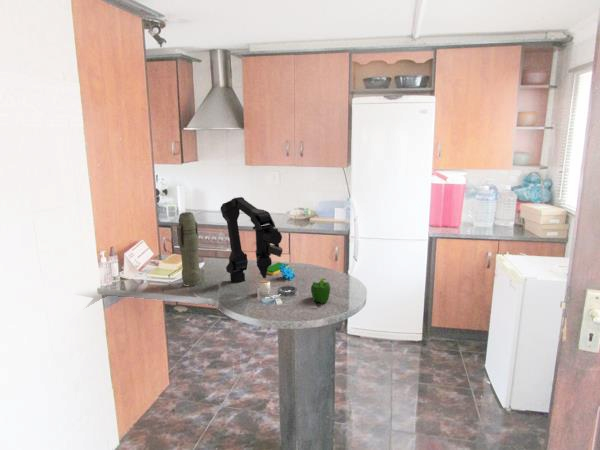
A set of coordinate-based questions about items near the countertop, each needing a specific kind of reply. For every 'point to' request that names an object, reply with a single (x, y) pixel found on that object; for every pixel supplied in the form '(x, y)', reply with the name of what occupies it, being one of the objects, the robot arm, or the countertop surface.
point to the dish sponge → (275, 268)
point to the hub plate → (280, 292)
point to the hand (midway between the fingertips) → (264, 274)
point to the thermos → (189, 249)
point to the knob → (264, 287)
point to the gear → (287, 272)
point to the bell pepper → (320, 291)
